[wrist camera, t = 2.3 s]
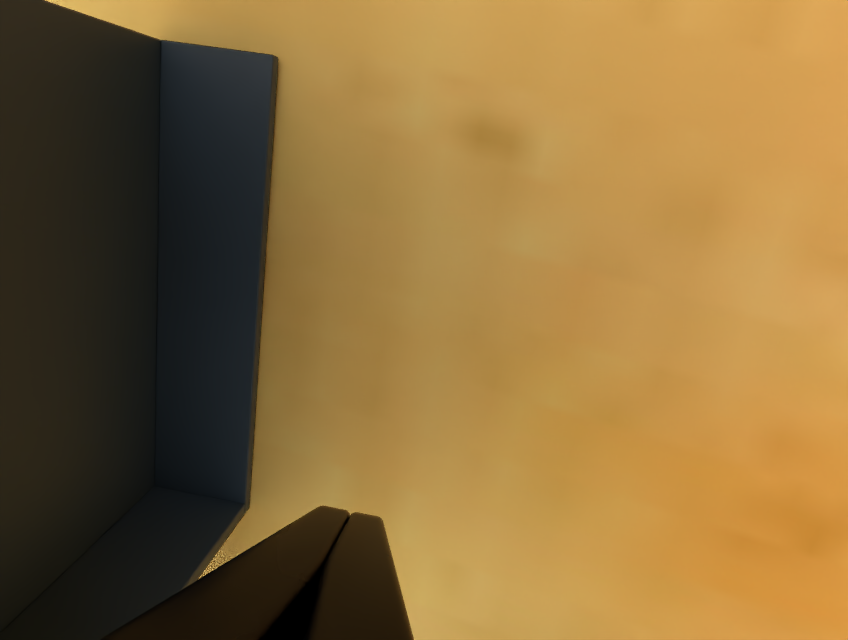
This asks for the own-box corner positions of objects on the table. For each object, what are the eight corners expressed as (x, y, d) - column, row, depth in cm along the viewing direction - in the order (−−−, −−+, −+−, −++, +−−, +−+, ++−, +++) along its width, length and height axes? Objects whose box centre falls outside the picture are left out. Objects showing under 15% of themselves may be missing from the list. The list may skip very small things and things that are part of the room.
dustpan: (147, 659, 21) (-199, 1150, 11) (154, 40, 16) (-564, -200, 5) (238, 679, 21) (-25, 1204, 11) (279, 56, 15) (-206, -159, 5)
